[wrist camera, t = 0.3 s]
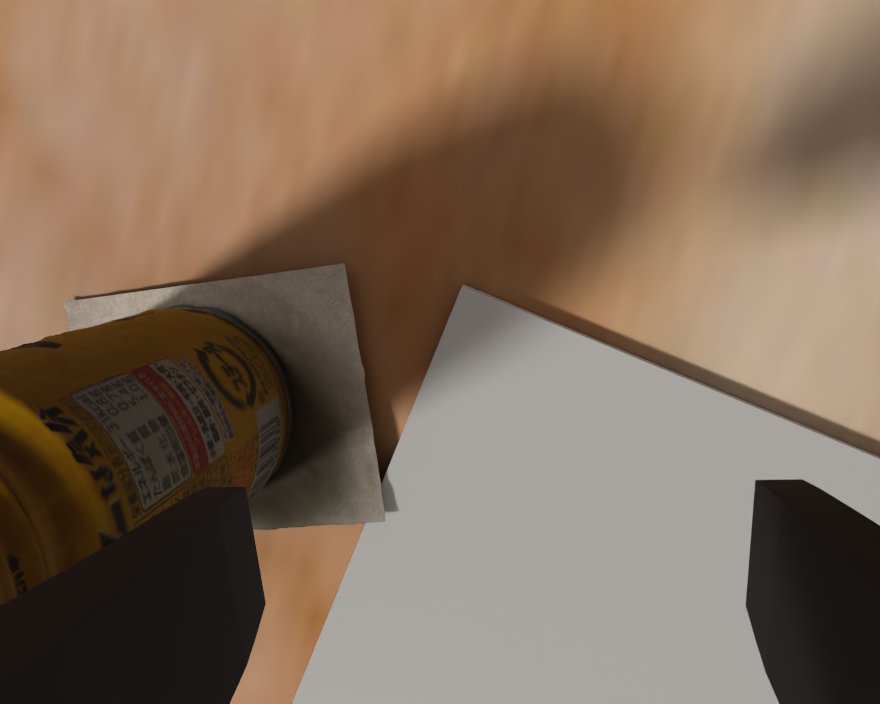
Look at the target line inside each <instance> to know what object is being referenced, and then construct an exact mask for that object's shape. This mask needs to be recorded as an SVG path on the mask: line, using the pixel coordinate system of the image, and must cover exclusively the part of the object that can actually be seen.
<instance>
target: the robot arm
mask: <svg viewBox="0 0 880 704" xmlns="http://www.w3.org/2000/svg"><path fill="white" fill-rule="evenodd" d="M264 607H265V598H264V592H263V586H262V580H261V574H260V568H259V563H258V557H257V551H256V545H255V539H254V533H253V528H252V522H251V516H250V510H249V504H248V498H247V492H246V487H205V488H203V489H201V490H199V491H197V492H195V493H193V494H191V495H189V496H187V497H185V498H184V499H182V500H180V501H178V502H177V503H175V504H173V505H172V506H170V507H168V508H167V509H165V510H163V511H162V512H160V513H158V514H157V515H155V516H154V517H152V518H150V519H149V520H147V521H146V522H144V523H142V524H141V525H139V526H137V527H136V528H134V529H133V530H131V531H129V532H128V533H126V534H124V535H123V536H121V537H120V538H118V539H116V540H115V541H113V542H111V543H110V544H108V545H107V546H105V547H103V548H102V549H100V550H98V551H97V552H95V553H93V554H92V555H90V556H88V557H87V558H85V559H83V560H81V561H80V562H78V563H76V564H74V565H73V566H71V567H69V568H67V569H66V570H64V571H62V572H60V573H59V574H57V575H55V576H53V577H52V578H50V579H48V580H46V581H45V582H43V583H41V584H39V585H38V586H36V587H34V588H32V589H31V590H29V591H27V592H25V593H23V594H21V595H20V596H18V597H16V598H14V599H12V600H10V601H8V602H6V603H4V604H2V605H0V704H230V701H231V699H232V697H233V695H234V693H235V690H236V688H237V686H238V684H239V682H240V679H241V677H242V675H243V673H244V670H245V668H246V666H247V663H248V660H249V657H250V653H251V650H252V647H253V644H254V641H255V638H256V635H257V631H258V628H259V624H260V621H261V617H262V614H263V610H264ZM746 609H747V612H748V615H749V619H750V622H751V626H752V629H753V633H754V636H755V640H756V643H757V647H758V650H759V653H760V656H761V659H762V662H763V666H764V669H765V672H766V674H767V677H768V679H769V681H770V684H771V686H772V688H773V691H774V693H775V695H776V697H777V700H778V702H779V704H880V525H878V524H877V523H875V522H873V521H872V520H870V519H869V518H867V517H865V516H864V515H862V514H861V513H859V512H857V511H856V510H854V509H853V508H851V507H849V506H848V505H846V504H845V503H843V502H841V501H840V500H838V499H836V498H835V497H833V496H832V495H830V494H828V493H826V492H825V491H823V490H821V489H820V488H818V487H816V486H814V485H812V484H810V483H809V482H807V481H805V480H802V479H794V480H755V491H754V504H753V517H752V530H751V542H750V555H749V568H748V581H747V593H746Z"/></svg>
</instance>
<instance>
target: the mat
mask: <svg viewBox="0 0 880 704" xmlns="http://www.w3.org/2000/svg"><path fill="white" fill-rule="evenodd" d="M794 479H802V480H805V481H807V482H809V483H810V484H812V485H814V486H816V487H818V488H820V489H821V490H823V491H825V492H826V493H828V494H830V495H832V496H833V497H835V498H836V499H838V500H840V501H841V502H843V503H845V504H846V505H848V506H849V507H851V508H853V509H854V510H856V511H857V512H859V513H861V514H862V515H864V516H865V517H867V518H869V519H870V520H872V521H873V522H875V523H877V524H878V525H880V457H879V456H877V455H875V454H872V453H870V452H867V451H865V450H863V449H860V448H858V447H855V446H853V445H850V444H848V443H846V442H843V441H841V440H838V439H836V438H834V437H831V436H829V435H826V434H824V433H822V432H819V431H817V430H814V429H812V428H809V427H807V426H805V425H802V424H800V423H797V422H795V421H793V420H790V419H788V418H785V417H783V416H781V415H778V414H776V413H773V412H771V411H768V410H766V409H764V408H761V407H759V406H756V405H754V404H752V403H749V402H747V401H744V400H742V399H740V398H737V397H735V396H732V395H730V394H727V393H725V392H723V391H720V390H718V389H715V388H713V387H711V386H708V385H706V384H703V383H701V382H699V381H696V380H694V379H691V378H689V377H686V376H684V375H682V374H679V373H677V372H674V371H672V370H670V369H667V368H665V367H662V366H660V365H657V364H655V363H653V362H650V361H648V360H645V359H643V358H641V357H638V356H636V355H633V354H631V353H629V352H626V351H624V350H621V349H619V348H616V347H614V346H612V345H609V344H607V343H604V342H602V341H600V340H597V339H595V338H592V337H590V336H588V335H585V334H583V333H580V332H578V331H575V330H573V329H571V328H568V327H566V326H563V325H561V324H559V323H556V322H554V321H551V320H549V319H547V318H544V317H542V316H539V315H537V314H534V313H532V312H530V311H527V310H525V309H522V308H520V307H518V306H515V305H513V304H510V303H508V302H506V301H503V300H501V299H498V298H496V297H493V296H491V295H489V294H486V293H484V292H481V291H479V290H477V289H474V288H472V287H469V286H467V285H464V284H463V285H462V287H461V290H460V292H459V295H458V297H457V300H456V302H455V304H454V307H453V309H452V312H451V314H450V317H449V319H448V322H447V324H446V327H445V329H444V332H443V334H442V336H441V339H440V341H439V344H438V346H437V349H436V351H435V354H434V356H433V359H432V361H431V364H430V366H429V368H428V371H427V373H426V376H425V378H424V381H423V383H422V386H421V388H420V391H419V393H418V395H417V398H416V400H415V403H414V405H413V408H412V410H411V413H410V415H409V418H408V420H407V423H406V425H405V427H404V430H403V432H402V435H401V437H400V440H399V442H398V445H397V447H396V450H395V452H394V455H393V457H392V459H391V462H390V464H389V467H388V469H387V472H386V474H385V477H384V479H383V482H382V484H381V489H382V491H381V495H382V499H383V505H384V512H385V520H386V522H373V523H365V526H364V528H363V531H362V533H361V536H360V538H359V541H358V543H357V545H356V548H355V550H354V553H353V555H352V558H351V560H350V563H349V565H348V568H347V570H346V573H345V575H344V577H343V580H342V582H341V585H340V587H339V590H338V592H337V595H336V597H335V600H334V602H333V605H332V607H331V609H330V612H329V614H328V617H327V619H326V622H325V624H324V627H323V629H322V632H321V634H320V636H319V639H318V641H317V644H316V646H315V649H314V651H313V654H312V656H311V659H310V661H309V664H308V666H307V668H306V671H305V673H304V676H303V678H302V681H301V683H300V686H299V688H298V691H297V693H296V696H295V698H294V700H293V703H292V704H779V702H778V700H777V697H776V695H775V693H774V691H773V688H772V686H771V684H770V681H769V679H768V677H767V674H766V672H765V669H764V666H763V662H762V659H761V656H760V653H759V650H758V647H757V643H756V640H755V636H754V633H753V629H752V626H751V622H750V619H749V615H748V612H747V609H746V593H747V581H748V568H749V555H750V542H751V530H752V517H753V504H754V491H755V480H794Z"/></svg>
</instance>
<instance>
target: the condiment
mask: <svg viewBox="0 0 880 704" xmlns="http://www.w3.org/2000/svg"><path fill="white" fill-rule="evenodd" d="M63 303H64V307H65V310H66V313H67V316H68V323H69V326H70V332H64V333H62V334H60V335H54V336H48V337H45V338H44V339H42V340H40V341H37V342H34V343H29V344H23V345H21V346H18V347H15V348H11V349H9V350H4V351H0V605H2V604H4V603H6V602H8V601H10V600H12V599H14V598H16V597H18V596H20V595H21V594H23V593H25V592H27V591H29V590H31V589H32V588H34V587H36V586H38V585H39V584H41V583H43V582H45V581H46V580H48V579H50V578H52V577H53V576H55V575H57V574H59V573H60V572H62V571H64V570H66V569H67V568H69V567H71V566H73V565H74V564H76V563H78V562H80V561H81V560H83V559H85V558H87V557H88V556H90V555H92V554H93V553H95V552H97V551H98V550H100V549H102V548H103V547H105V546H107V545H108V544H110V543H111V542H113V541H115V540H116V539H118V538H120V537H121V536H123V535H124V534H126V533H128V532H129V531H131V530H133V529H134V528H136V527H137V526H139V525H141V524H142V523H144V522H146V521H147V520H149V519H150V518H152V517H154V516H155V515H157V514H158V513H160V512H162V511H163V510H165V509H167V508H168V507H170V506H172V505H173V504H175V503H177V502H178V501H180V500H182V499H184V498H185V497H187V496H189V495H191V494H193V493H195V492H197V491H199V490H201V489H203V488H205V487H246V492H247V498H248V504H249V510H250V516H251V522H252V528H253V529H261V530H270V529H278V528H288V527H305V526H313V525H331V524H334V525H340V524H361V523H373V522H386V520H385V512H384V505H383V499H382V495H381V491H382V489H381V481H380V476H379V469H378V462H377V455H376V450H375V445H374V437H373V428H372V422H371V417H370V410H369V404H368V398H367V392H366V386H365V372H364V368H363V366H362V361H361V357H360V351H359V347H358V340H357V334H356V326H355V319H354V312H353V308H352V304H351V298H350V292H349V287H348V280H347V275H346V268H345V264H344V263H342V264H335V265H328V266H321V267H314V268H307V269H299V270H292V271H285V272H278V273H271V274H264V275H258V276H248V277H241V278H234V279H226V280H219V281H212V282H204V283H197V284H189V285H182V286H175V287H168V288H161V289H153V290H146V291H139V292H131V293H124V294H117V295H110V296H102V297H95V298H88V299H81V300H74V301H67V302H63Z"/></svg>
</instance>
